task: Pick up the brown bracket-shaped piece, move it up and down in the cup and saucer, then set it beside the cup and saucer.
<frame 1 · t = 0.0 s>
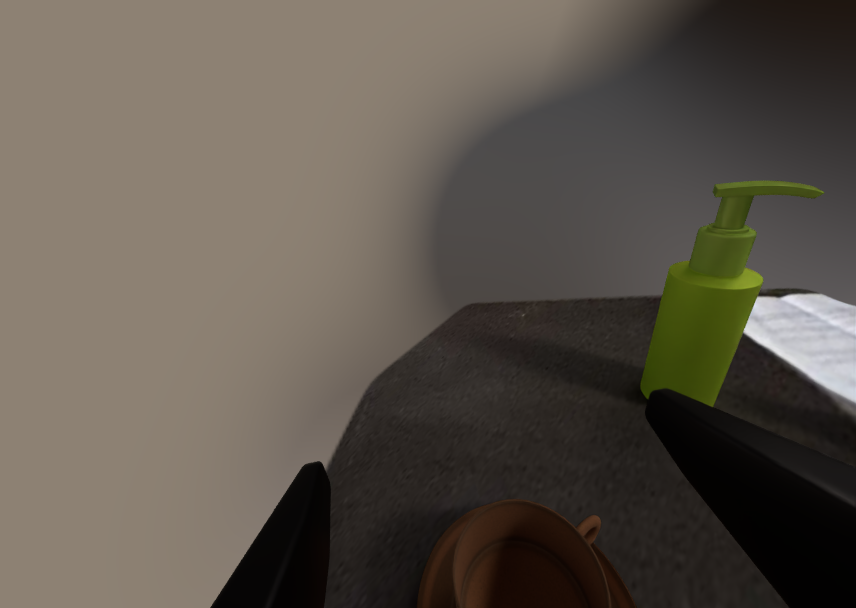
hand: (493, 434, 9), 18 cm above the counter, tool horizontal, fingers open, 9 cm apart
soap dispenser: (680, 397, 32), on the counter
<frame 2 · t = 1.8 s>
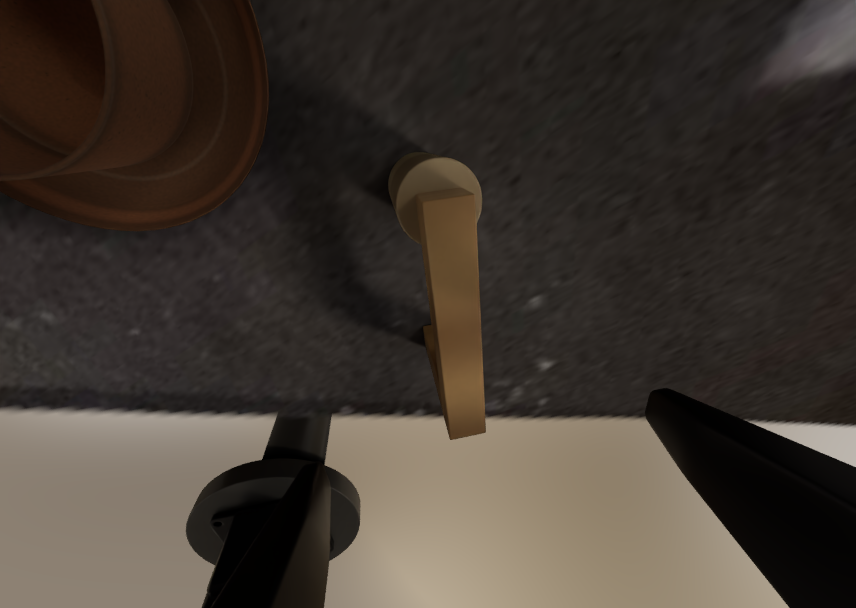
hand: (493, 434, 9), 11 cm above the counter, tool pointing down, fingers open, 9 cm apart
brown bracket-shaped piece: (426, 244, 17), on the counter
cup and saucer: (113, 60, 12), on the counter
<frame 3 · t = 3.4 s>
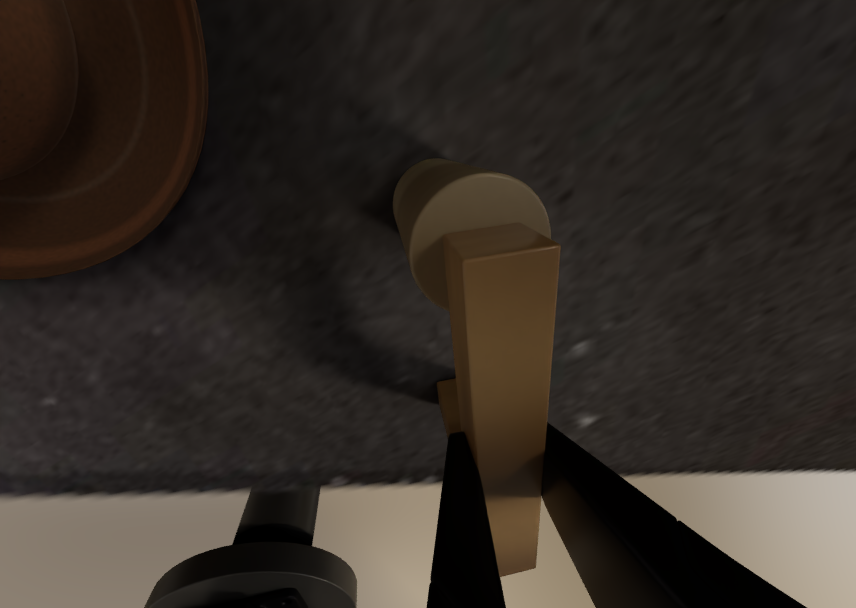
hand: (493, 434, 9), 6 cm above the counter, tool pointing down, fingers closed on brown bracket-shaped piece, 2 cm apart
brown bracket-shaped piece: (443, 282, 13), on the counter, touching gripper
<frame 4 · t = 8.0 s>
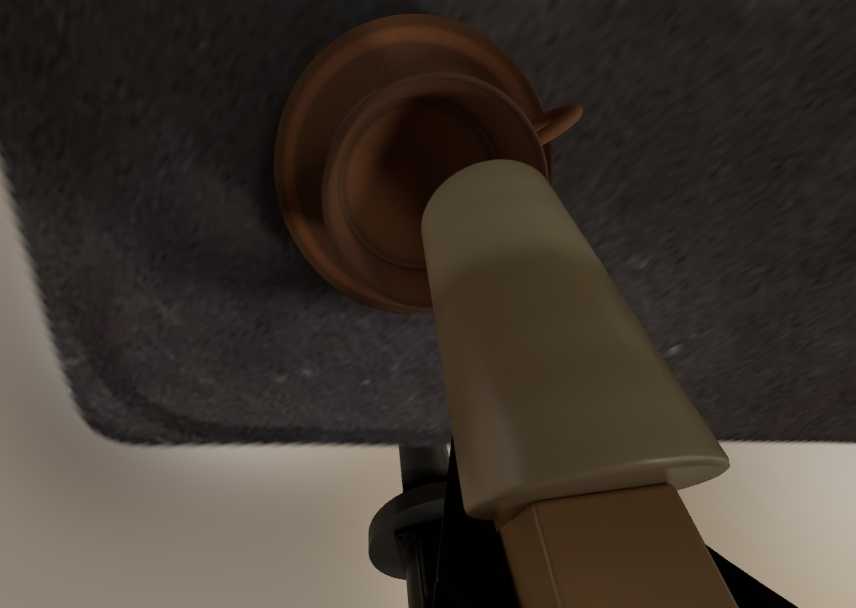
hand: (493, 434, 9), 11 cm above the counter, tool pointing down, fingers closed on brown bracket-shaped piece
brown bracket-shaped piece: (477, 305, 10), point 8 cm above the counter, tilted 24°, touching gripper
cup and saucer: (416, 186, 16), on the counter
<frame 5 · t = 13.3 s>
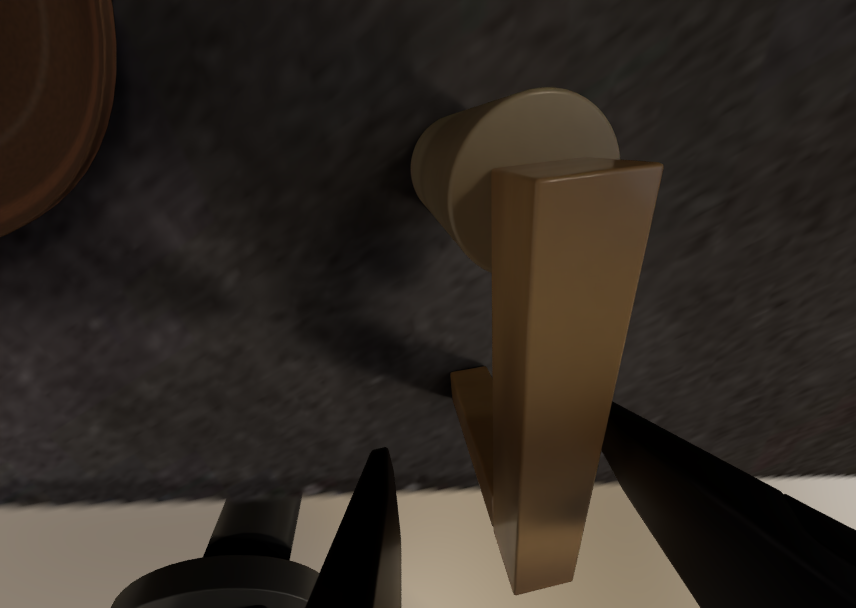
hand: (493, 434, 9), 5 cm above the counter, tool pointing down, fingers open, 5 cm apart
brown bracket-shaped piece: (462, 259, 12), on the counter
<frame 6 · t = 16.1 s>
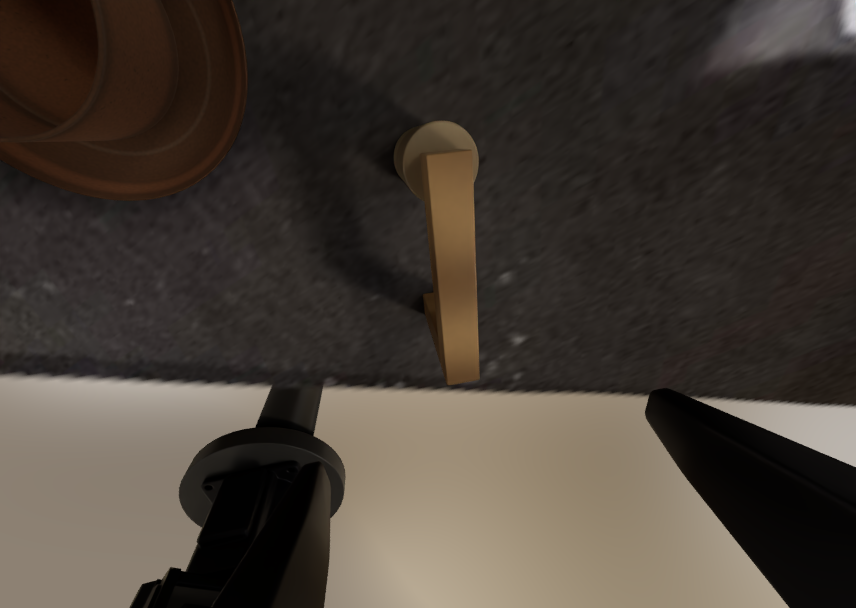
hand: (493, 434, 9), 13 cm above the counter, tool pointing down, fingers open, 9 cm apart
brown bracket-shaped piece: (427, 215, 19), on the counter
cup and saucer: (107, 44, 14), on the counter
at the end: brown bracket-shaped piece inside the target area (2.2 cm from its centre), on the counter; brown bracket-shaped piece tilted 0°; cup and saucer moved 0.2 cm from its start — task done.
